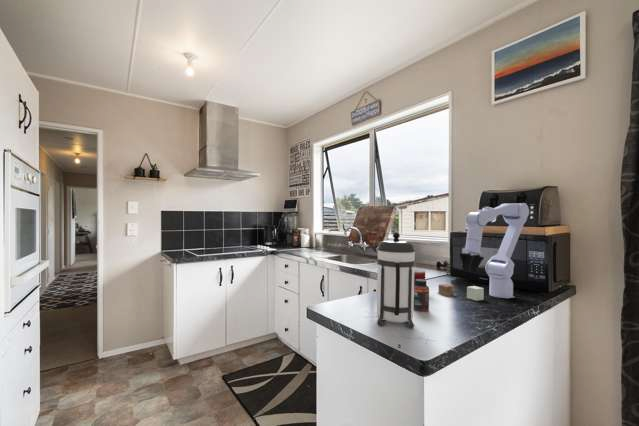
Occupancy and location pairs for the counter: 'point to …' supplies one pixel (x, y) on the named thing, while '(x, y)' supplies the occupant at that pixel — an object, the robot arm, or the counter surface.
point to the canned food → (419, 274)
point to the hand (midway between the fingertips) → (469, 271)
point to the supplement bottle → (421, 295)
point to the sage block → (475, 293)
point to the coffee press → (395, 281)
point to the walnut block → (446, 289)
